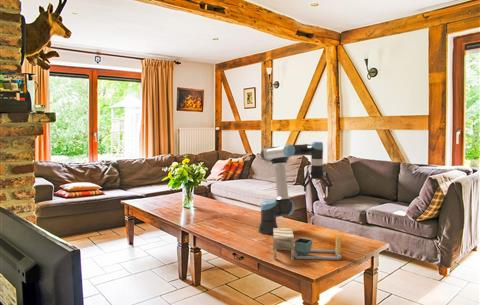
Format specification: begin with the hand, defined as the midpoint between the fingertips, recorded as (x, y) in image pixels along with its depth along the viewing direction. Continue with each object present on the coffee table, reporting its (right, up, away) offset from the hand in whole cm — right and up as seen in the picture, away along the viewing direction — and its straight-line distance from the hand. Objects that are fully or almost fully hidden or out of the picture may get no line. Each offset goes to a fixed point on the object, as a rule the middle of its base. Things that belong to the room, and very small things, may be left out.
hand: (316, 196), depth 241 cm
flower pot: (-12, -34, -18) cm, 40 cm away
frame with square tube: (-5, -34, -19) cm, 40 cm away
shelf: (-25, -34, -18) cm, 46 cm away
